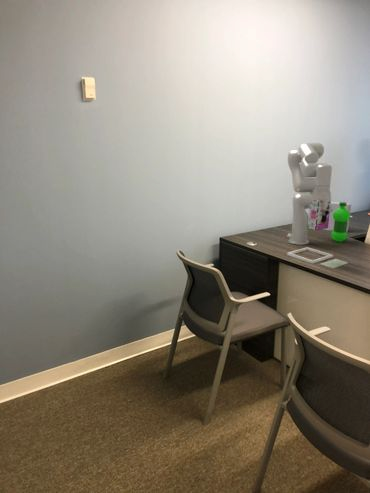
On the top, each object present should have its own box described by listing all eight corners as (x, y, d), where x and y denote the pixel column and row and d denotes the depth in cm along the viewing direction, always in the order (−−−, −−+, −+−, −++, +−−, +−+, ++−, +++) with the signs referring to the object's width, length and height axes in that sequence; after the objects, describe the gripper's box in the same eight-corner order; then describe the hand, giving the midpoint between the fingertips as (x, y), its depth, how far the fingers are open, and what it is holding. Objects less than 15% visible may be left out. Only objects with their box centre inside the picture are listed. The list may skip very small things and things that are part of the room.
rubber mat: (319, 264, 206) (319, 263, 206) (335, 259, 213) (335, 258, 213) (332, 268, 200) (332, 267, 199) (348, 263, 207) (348, 262, 207)
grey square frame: (287, 255, 221) (287, 252, 221) (307, 249, 231) (307, 247, 230) (312, 263, 207) (313, 261, 207) (332, 257, 217) (333, 254, 216)
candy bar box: (316, 231, 205) (318, 201, 201) (308, 229, 209) (310, 199, 205) (328, 228, 211) (331, 198, 207) (321, 226, 215) (323, 197, 211)
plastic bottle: (339, 237, 255) (343, 200, 247) (350, 242, 245) (355, 203, 238) (326, 239, 252) (331, 201, 244) (337, 243, 242) (342, 204, 235)
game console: (346, 232, 267) (350, 204, 261) (307, 227, 280) (309, 201, 274) (348, 230, 271) (351, 203, 265) (309, 226, 285) (311, 199, 279)
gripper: (305, 187, 209) (302, 219, 214) (331, 190, 195) (328, 225, 200) (313, 186, 213) (311, 217, 218) (340, 189, 199) (337, 223, 204)
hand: (319, 220), depth 209 cm, fingers closed on candy bar box, 5 cm apart
